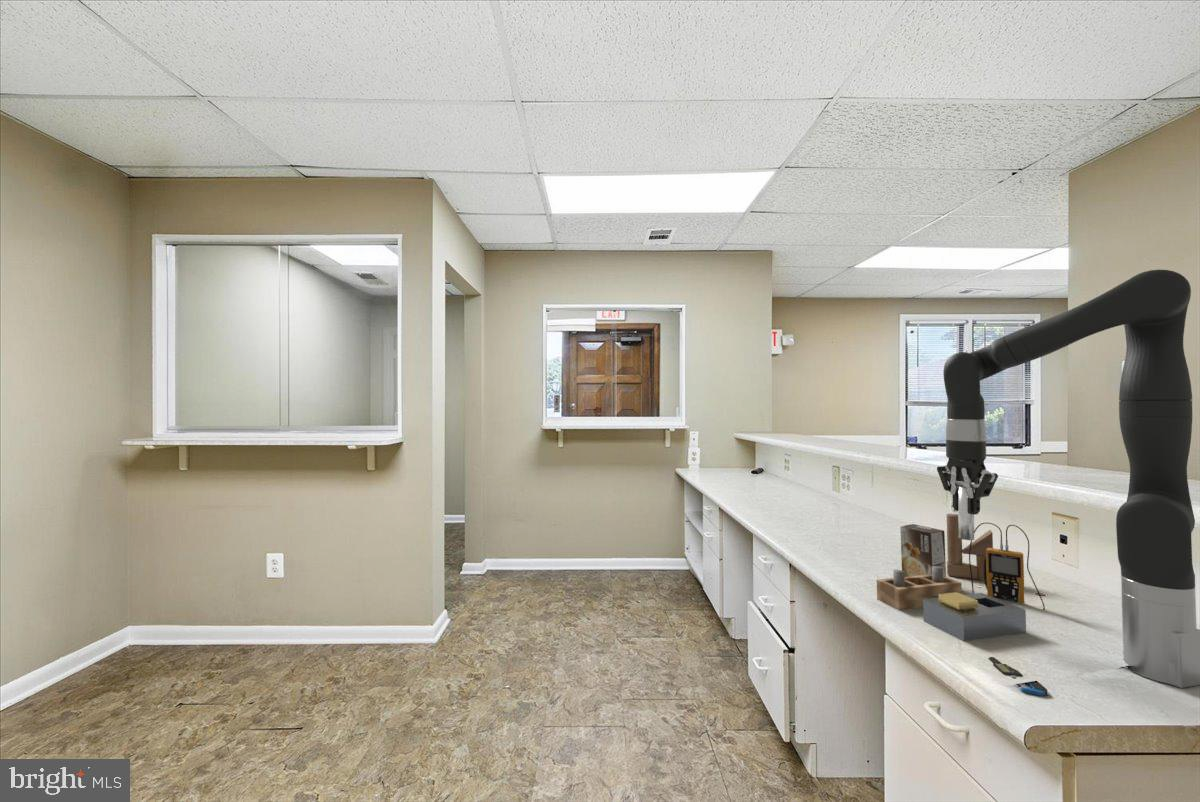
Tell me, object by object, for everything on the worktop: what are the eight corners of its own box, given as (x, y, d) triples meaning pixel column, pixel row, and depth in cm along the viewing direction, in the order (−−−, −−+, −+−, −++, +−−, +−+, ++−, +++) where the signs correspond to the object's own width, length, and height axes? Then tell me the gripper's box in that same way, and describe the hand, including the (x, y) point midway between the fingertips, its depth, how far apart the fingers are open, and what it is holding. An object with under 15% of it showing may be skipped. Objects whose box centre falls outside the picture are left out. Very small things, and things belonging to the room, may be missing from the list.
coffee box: (948, 588, 135) (946, 530, 135) (933, 592, 133) (931, 533, 133) (914, 578, 144) (913, 523, 144) (900, 582, 141) (899, 526, 141)
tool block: (981, 618, 117) (981, 592, 117) (1026, 637, 107) (1025, 609, 107) (923, 625, 113) (923, 599, 113) (964, 645, 103) (963, 617, 103)
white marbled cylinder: (977, 539, 113) (977, 487, 113) (967, 540, 113) (966, 488, 113) (965, 536, 116) (965, 485, 116) (955, 537, 116) (954, 486, 116)
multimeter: (966, 605, 124) (963, 526, 124) (971, 593, 132) (969, 519, 132) (1044, 621, 114) (1041, 535, 114) (1044, 608, 122) (1042, 527, 122)
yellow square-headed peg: (957, 620, 112) (956, 592, 112) (978, 630, 107) (977, 600, 107) (939, 623, 111) (938, 594, 111) (959, 632, 106) (958, 602, 106)
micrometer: (1051, 689, 85) (1018, 686, 86) (1051, 700, 85) (1018, 697, 86) (1009, 654, 97) (980, 652, 98) (1009, 664, 97) (980, 661, 98)
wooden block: (994, 582, 139) (992, 518, 140) (947, 576, 145) (946, 515, 145) (992, 578, 142) (990, 516, 143) (946, 572, 148) (945, 512, 148)
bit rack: (937, 596, 130) (936, 562, 130) (962, 606, 123) (961, 570, 123) (877, 603, 126) (876, 568, 126) (898, 614, 119) (898, 577, 120)
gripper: (1009, 440, 108) (1009, 518, 108) (951, 436, 122) (951, 505, 122) (981, 441, 107) (981, 520, 107) (926, 436, 121) (926, 506, 121)
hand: (965, 512), depth 115 cm, fingers closed on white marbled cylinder, 3 cm apart
